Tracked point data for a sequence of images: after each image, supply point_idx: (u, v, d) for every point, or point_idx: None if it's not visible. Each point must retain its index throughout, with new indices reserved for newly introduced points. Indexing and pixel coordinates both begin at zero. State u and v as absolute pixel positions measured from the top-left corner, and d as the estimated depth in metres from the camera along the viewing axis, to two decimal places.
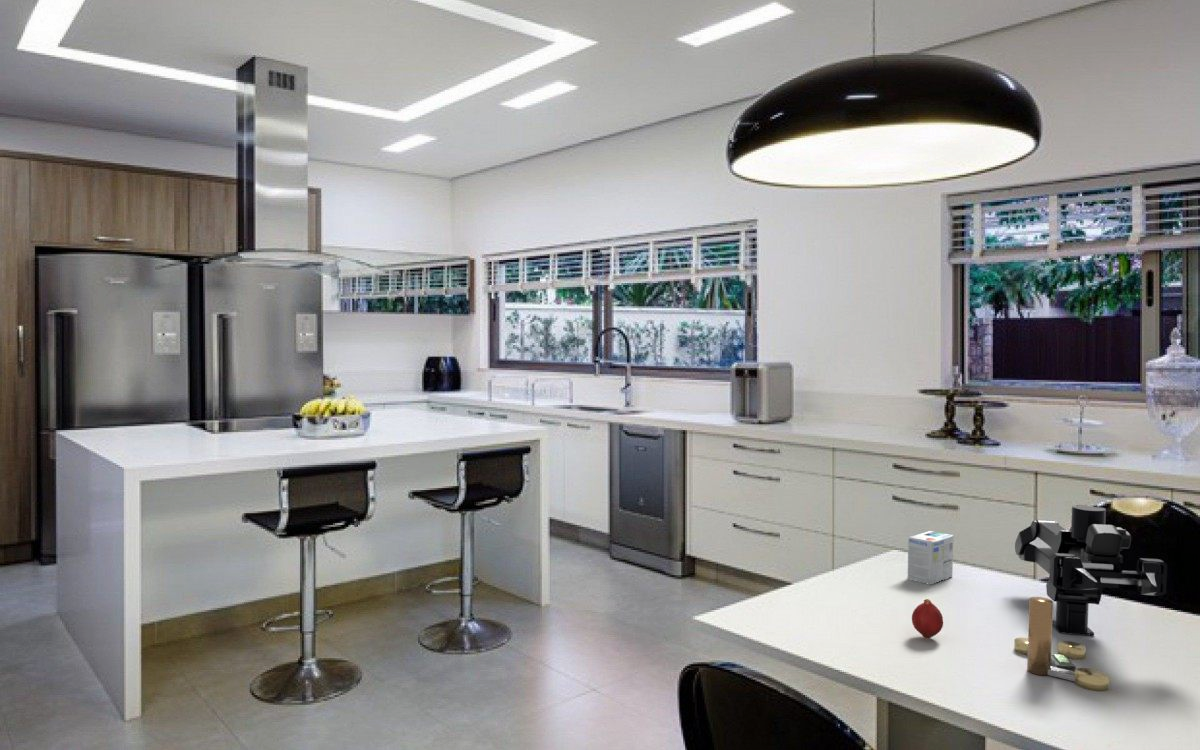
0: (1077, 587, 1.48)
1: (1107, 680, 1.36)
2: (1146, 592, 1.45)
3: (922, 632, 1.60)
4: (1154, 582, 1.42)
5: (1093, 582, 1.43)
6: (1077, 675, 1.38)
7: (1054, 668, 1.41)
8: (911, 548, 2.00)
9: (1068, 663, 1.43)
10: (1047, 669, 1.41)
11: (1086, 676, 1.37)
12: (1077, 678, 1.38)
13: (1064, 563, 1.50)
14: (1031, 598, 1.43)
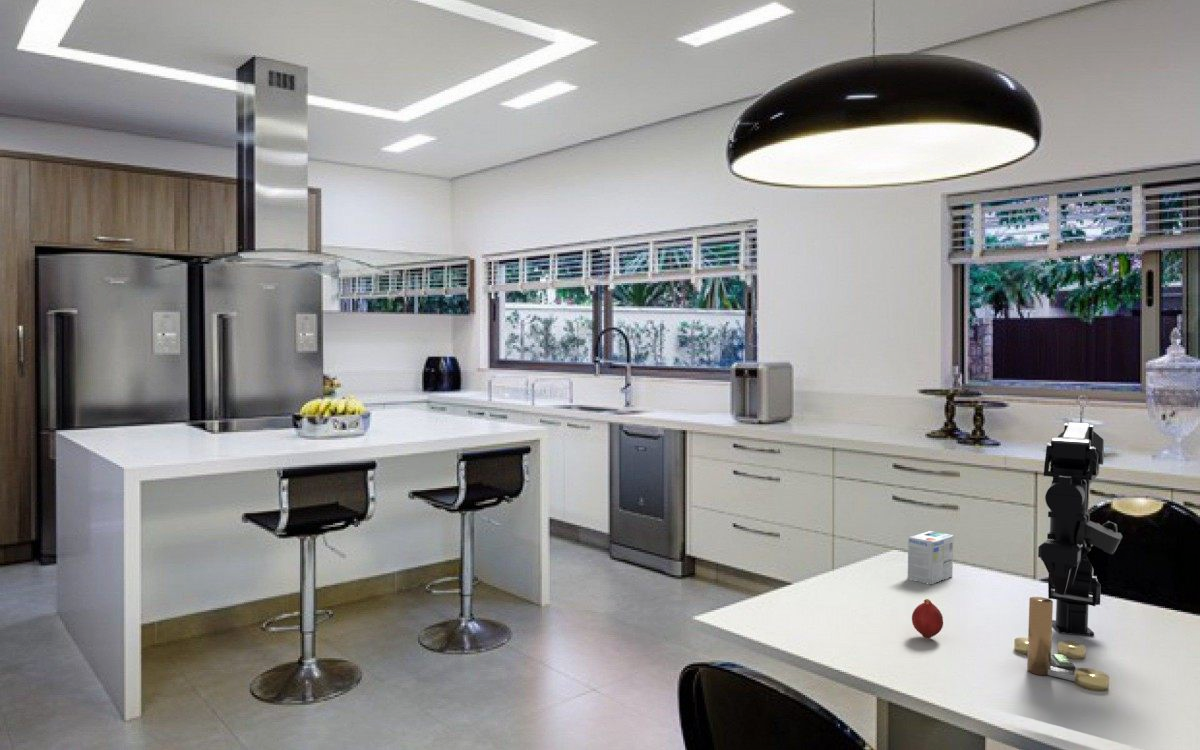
0: (1049, 569, 1.48)
1: (1107, 680, 1.36)
2: None
3: (922, 632, 1.60)
4: (1074, 577, 1.54)
5: (1063, 592, 1.48)
6: (1077, 675, 1.38)
7: (1054, 668, 1.41)
8: (911, 548, 2.00)
9: (1068, 663, 1.43)
10: (1047, 669, 1.41)
11: (1086, 676, 1.37)
12: (1077, 678, 1.38)
13: (1071, 565, 1.44)
14: (1031, 598, 1.43)
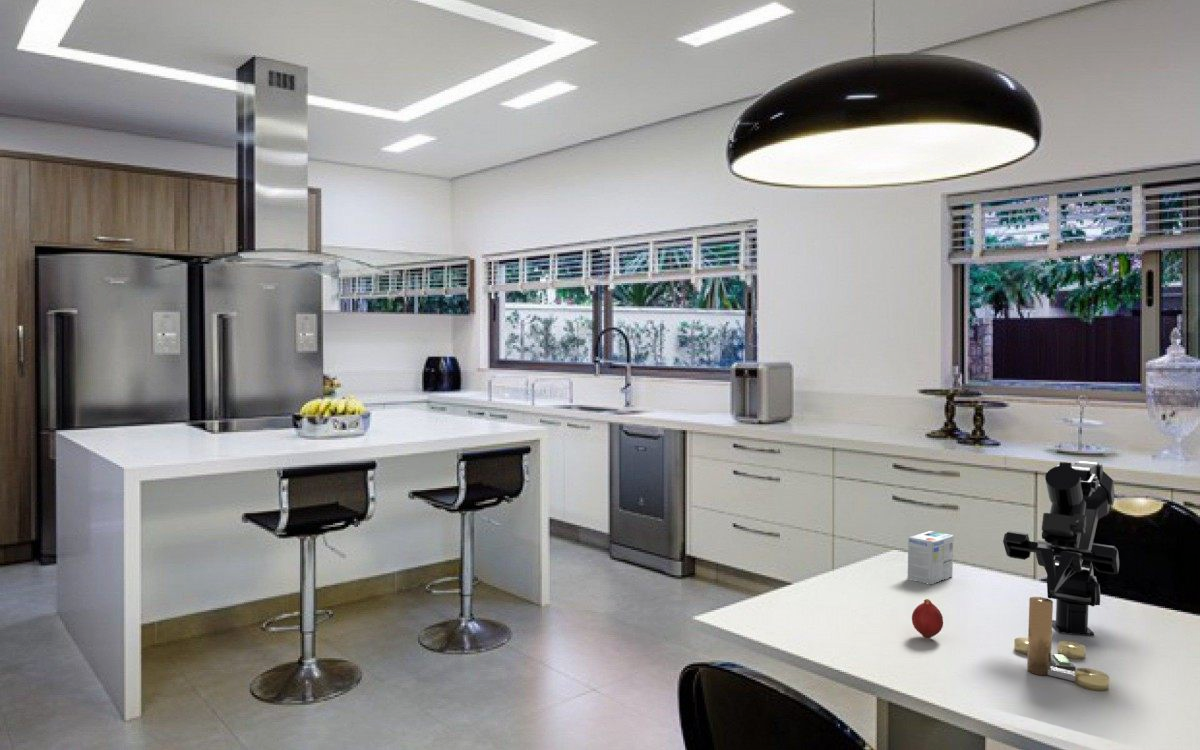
0: None
1: (1107, 680, 1.36)
2: None
3: (922, 632, 1.60)
4: (1056, 582, 1.50)
5: (1049, 586, 1.50)
6: (1077, 675, 1.38)
7: (1054, 668, 1.41)
8: (911, 548, 2.00)
9: (1068, 663, 1.43)
10: (1047, 669, 1.41)
11: (1086, 676, 1.37)
12: (1077, 678, 1.38)
13: (1036, 551, 1.54)
14: (1031, 598, 1.43)
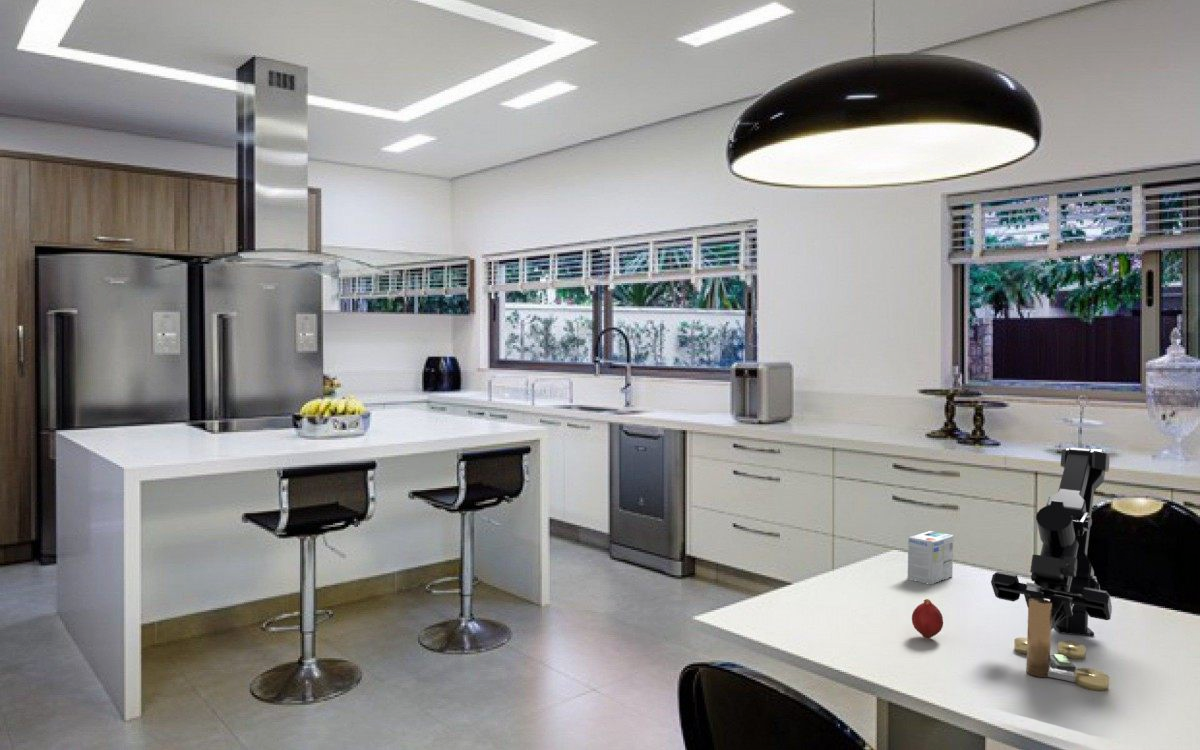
0: None
1: (1108, 679, 1.36)
2: None
3: (922, 632, 1.60)
4: None
5: None
6: (1078, 676, 1.37)
7: (1053, 669, 1.41)
8: (911, 548, 2.00)
9: (1068, 663, 1.43)
10: (1047, 671, 1.40)
11: (1088, 676, 1.37)
12: (1079, 679, 1.37)
13: (1024, 594, 1.48)
14: (1030, 600, 1.42)
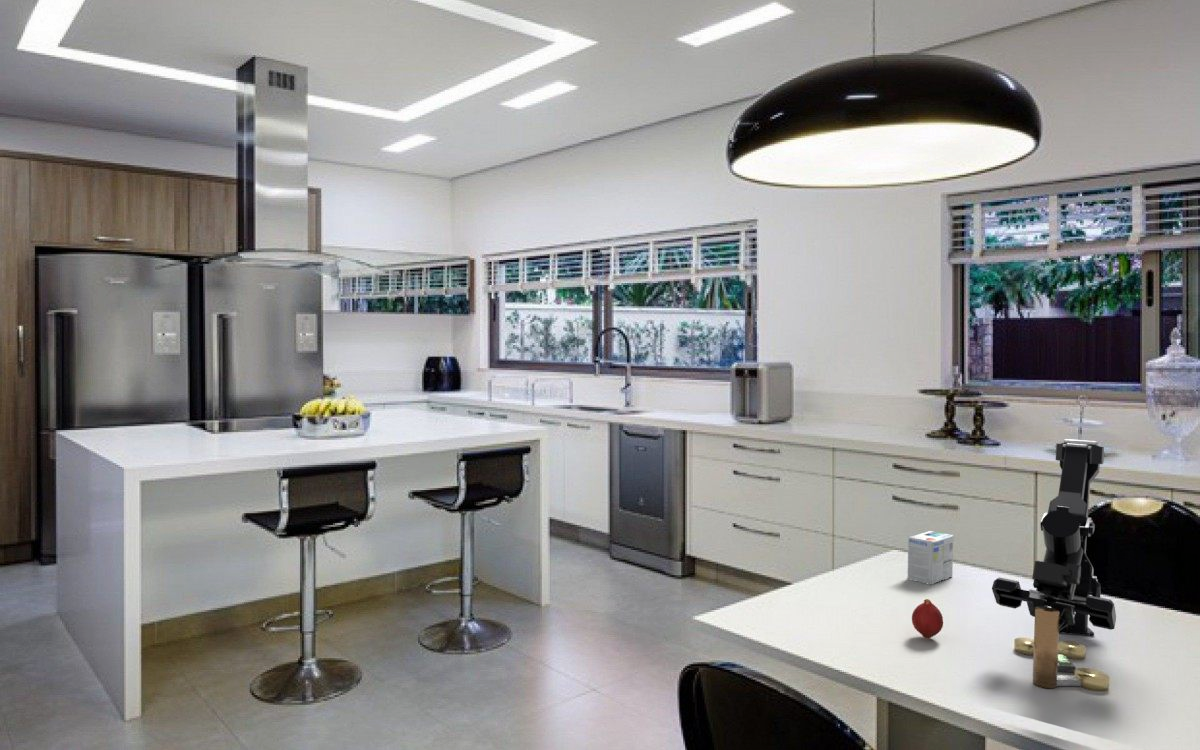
0: None
1: None
2: None
3: (922, 632, 1.60)
4: None
5: None
6: (1086, 679, 1.36)
7: (1058, 677, 1.38)
8: (911, 548, 2.00)
9: (1068, 663, 1.43)
10: (1057, 680, 1.37)
11: (1095, 678, 1.36)
12: (1087, 682, 1.36)
13: (1027, 601, 1.44)
14: (1038, 610, 1.37)
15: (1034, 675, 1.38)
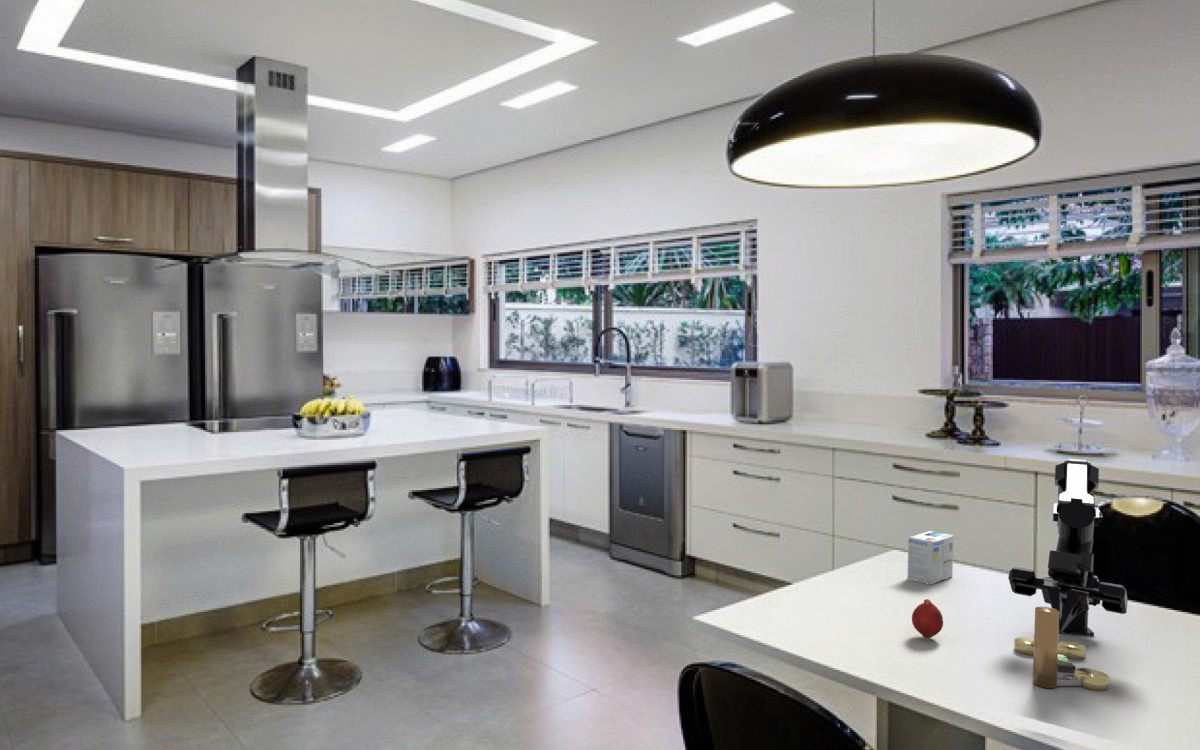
0: None
1: None
2: None
3: (922, 632, 1.60)
4: (1063, 621, 1.46)
5: None
6: (1087, 679, 1.36)
7: (1058, 677, 1.38)
8: (911, 548, 2.00)
9: (1068, 663, 1.43)
10: (1057, 680, 1.37)
11: (1095, 678, 1.36)
12: (1087, 682, 1.36)
13: (1042, 589, 1.51)
14: (1038, 610, 1.37)
15: (1034, 675, 1.38)
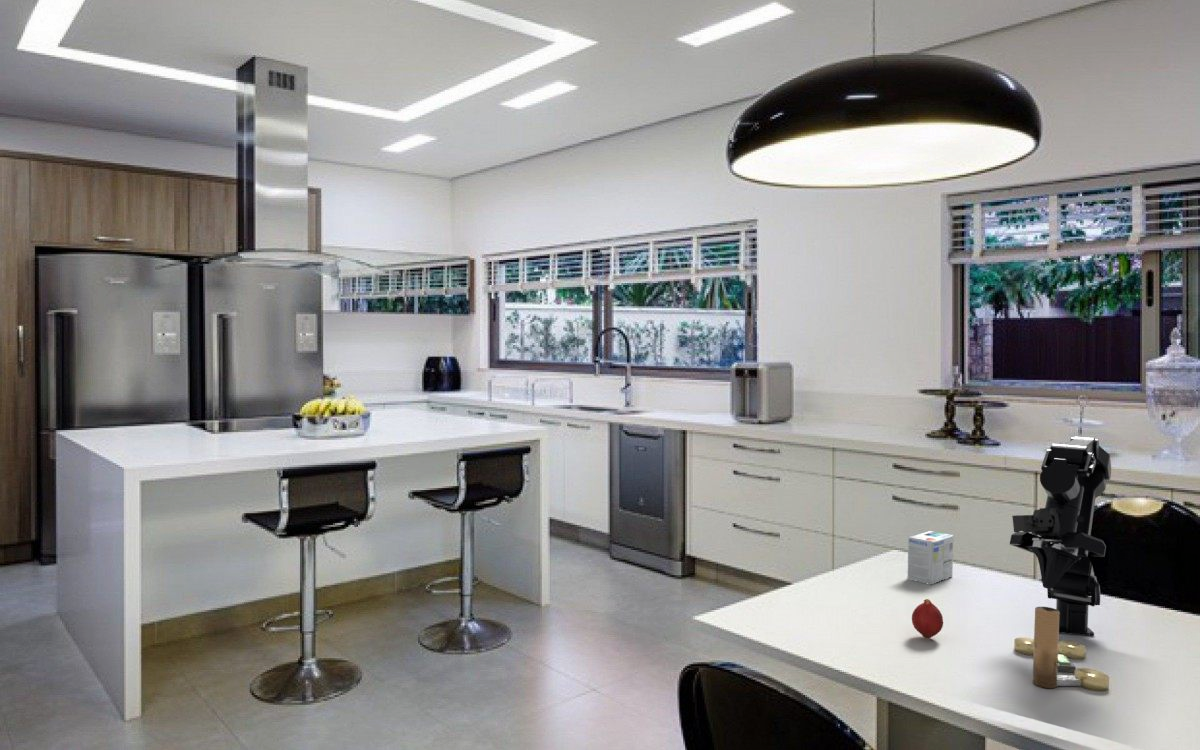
0: None
1: None
2: None
3: (922, 632, 1.60)
4: (1046, 579, 1.51)
5: None
6: (1087, 679, 1.36)
7: (1058, 677, 1.38)
8: (911, 548, 2.00)
9: (1068, 663, 1.43)
10: (1057, 680, 1.37)
11: (1095, 678, 1.36)
12: (1087, 682, 1.36)
13: (1031, 550, 1.56)
14: (1038, 610, 1.37)
15: (1034, 675, 1.38)
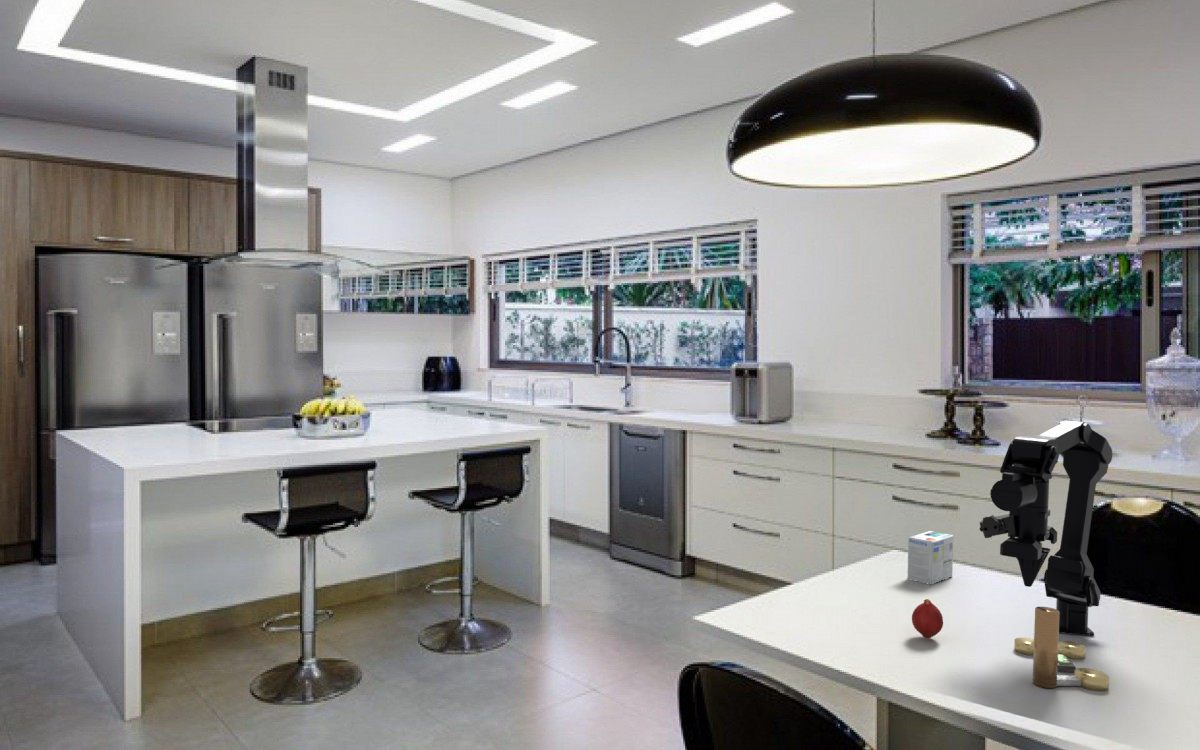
0: None
1: None
2: None
3: (922, 632, 1.60)
4: None
5: None
6: (1087, 679, 1.36)
7: (1058, 677, 1.38)
8: (911, 548, 2.00)
9: (1068, 663, 1.43)
10: (1057, 680, 1.37)
11: (1095, 678, 1.36)
12: (1087, 682, 1.36)
13: None
14: (1038, 610, 1.37)
15: (1034, 675, 1.38)
